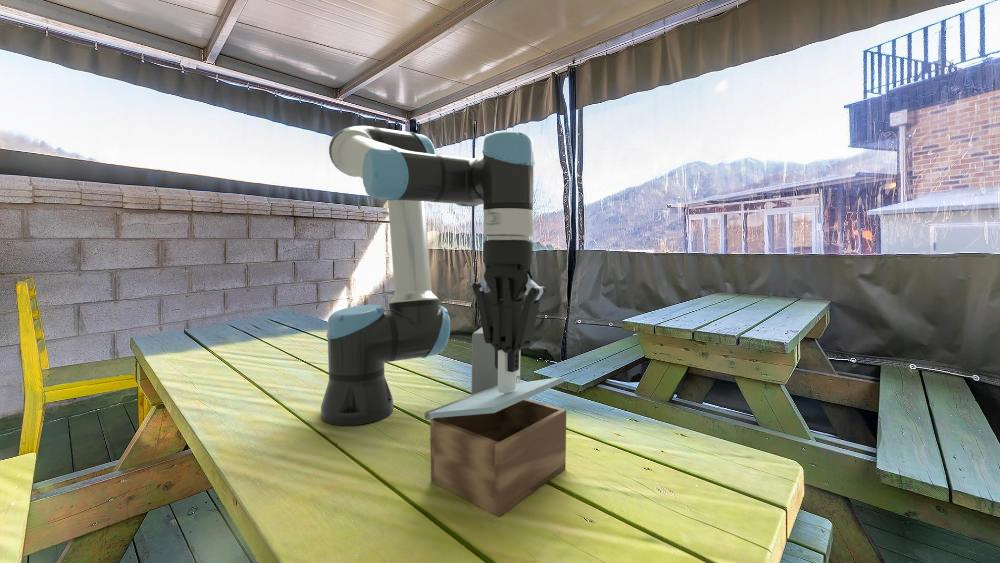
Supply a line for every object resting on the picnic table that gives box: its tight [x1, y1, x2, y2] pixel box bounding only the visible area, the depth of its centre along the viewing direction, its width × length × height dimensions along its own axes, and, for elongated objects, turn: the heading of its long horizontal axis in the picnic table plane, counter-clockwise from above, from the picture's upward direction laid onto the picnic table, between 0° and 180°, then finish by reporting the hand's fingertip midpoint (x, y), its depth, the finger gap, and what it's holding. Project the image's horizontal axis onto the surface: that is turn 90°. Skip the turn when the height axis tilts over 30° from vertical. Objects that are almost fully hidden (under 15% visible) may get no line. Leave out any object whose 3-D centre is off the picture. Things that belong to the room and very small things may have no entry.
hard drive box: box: [470, 326, 521, 395], centre depth 92 cm, size 16×8×20 cm, turn 168°
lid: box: [424, 376, 565, 421], centre depth 70 cm, size 15×18×1 cm
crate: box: [429, 398, 567, 518], centre depth 70 cm, size 14×17×10 cm
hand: (506, 390), depth 68 cm, fingers closed
